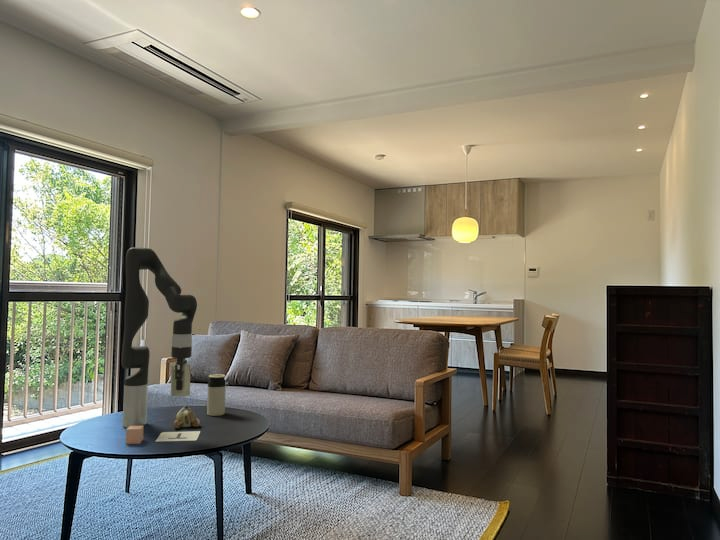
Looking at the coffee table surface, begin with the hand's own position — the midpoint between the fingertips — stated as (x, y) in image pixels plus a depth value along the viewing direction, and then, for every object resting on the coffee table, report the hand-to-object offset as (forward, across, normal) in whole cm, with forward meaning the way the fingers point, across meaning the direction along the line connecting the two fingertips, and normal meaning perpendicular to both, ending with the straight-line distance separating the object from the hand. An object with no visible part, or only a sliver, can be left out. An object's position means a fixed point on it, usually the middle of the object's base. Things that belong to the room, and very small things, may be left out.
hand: (180, 388), depth 207 cm
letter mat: (+19, 0, 0) cm, 19 cm away
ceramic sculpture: (+20, -16, +1) cm, 26 cm away
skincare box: (+3, 0, 0) cm, 3 cm away
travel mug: (+19, -38, +11) cm, 44 cm away
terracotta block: (+19, +6, -15) cm, 25 cm away
